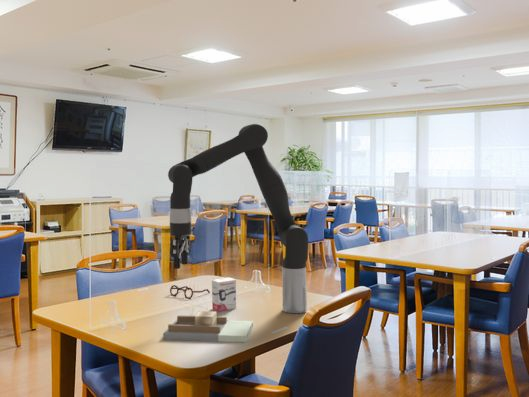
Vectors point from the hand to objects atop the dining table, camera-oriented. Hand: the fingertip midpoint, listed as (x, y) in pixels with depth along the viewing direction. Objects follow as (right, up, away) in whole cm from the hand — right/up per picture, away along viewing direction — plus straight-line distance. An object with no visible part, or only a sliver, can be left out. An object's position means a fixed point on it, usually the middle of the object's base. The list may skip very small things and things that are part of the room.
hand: (180, 266), depth 183 cm
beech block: (+10, -20, -8) cm, 23 cm away
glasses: (-3, -19, +46) cm, 50 cm away
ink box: (+14, -20, +22) cm, 33 cm away
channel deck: (+11, -22, -8) cm, 25 cm away
